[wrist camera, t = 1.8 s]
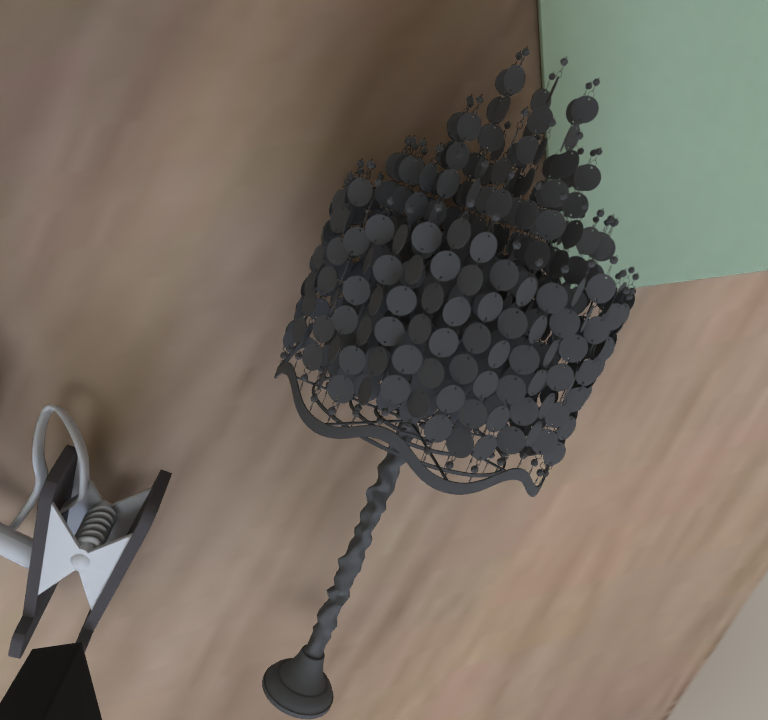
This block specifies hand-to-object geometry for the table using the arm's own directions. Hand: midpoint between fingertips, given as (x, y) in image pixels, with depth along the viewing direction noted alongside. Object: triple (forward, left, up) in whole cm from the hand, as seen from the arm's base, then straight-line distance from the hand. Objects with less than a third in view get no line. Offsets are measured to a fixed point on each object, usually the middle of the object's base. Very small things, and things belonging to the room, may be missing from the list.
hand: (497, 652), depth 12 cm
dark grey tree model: (0, 0, -17) cm, 17 cm away
